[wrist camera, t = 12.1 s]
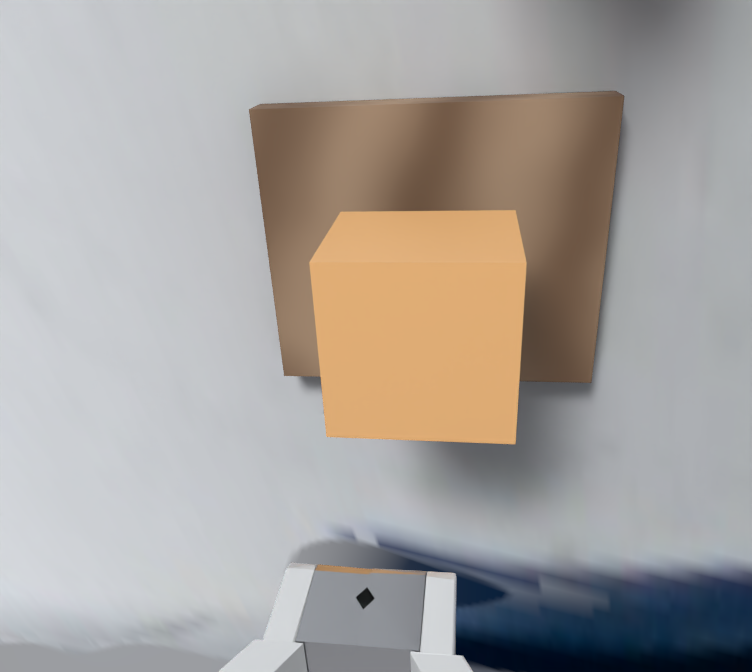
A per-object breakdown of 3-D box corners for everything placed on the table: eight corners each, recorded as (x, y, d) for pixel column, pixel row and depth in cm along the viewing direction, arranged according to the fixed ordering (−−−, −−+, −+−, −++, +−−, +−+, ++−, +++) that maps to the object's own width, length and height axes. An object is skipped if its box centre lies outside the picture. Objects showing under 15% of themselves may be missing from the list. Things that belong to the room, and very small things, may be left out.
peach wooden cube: (515, 210, 22) (526, 262, 18) (507, 365, 25) (515, 444, 20) (340, 211, 23) (309, 262, 18) (351, 361, 25) (326, 436, 21)
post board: (615, 91, 25) (690, 137, 16) (586, 366, 30) (630, 506, 22) (260, 104, 27) (162, 151, 18) (291, 360, 32) (228, 487, 24)
